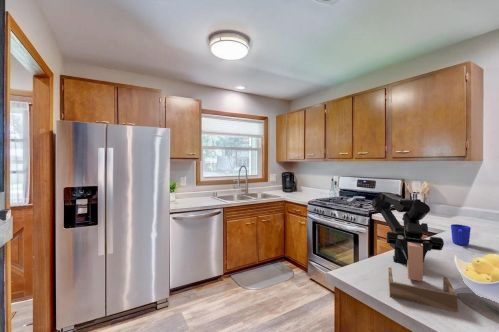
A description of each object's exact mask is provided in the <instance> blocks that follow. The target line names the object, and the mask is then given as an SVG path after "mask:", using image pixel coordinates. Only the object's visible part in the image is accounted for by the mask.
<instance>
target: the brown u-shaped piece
mask: <svg viewBox="0 0 499 332" xmlns="http://www.w3.org/2000/svg"><path fill="white" fill-rule="evenodd" d="M387 269H388V291H389V297H392V298H395V299H399V300H402V301H403V300H404V301H408V302H413V303H418V304H420V305H421V304H422V305H425V306H431V307H434V308H438V309H444V310H448V311H452V312H456V313H457V312H458V310H459V309H458V307H459V303H458V294H457V293H456V291H455V289H454V288H453V285H452V284H451V282H450V280H449V279H448V277H446V276H443V278H442V282H443V284H442V285H443V287H442V288H443V291H442V290H437V289H432V288H427V287H421V286H416V285H411V284H407V283H403V282H397V281H394V278H393V270H392V267H389V266H388V268H387Z"/></svg>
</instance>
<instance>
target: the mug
mask: <svg viewBox="0 0 499 332" xmlns="http://www.w3.org/2000/svg"><path fill="white" fill-rule="evenodd" d="M471 229H472V228H471V226H469V225H465V224H464V225H463V224H458V223H457V224H456V223H455V224H454V223H453V224H450V231H451V240H452V243H453V244H455V245H458V246H464V247H465V246H466V247H467V246H469V244H470V239H471V238H470V237H471Z"/></svg>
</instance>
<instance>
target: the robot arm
mask: <svg viewBox="0 0 499 332" xmlns="http://www.w3.org/2000/svg"><path fill="white" fill-rule="evenodd" d="M371 206H372V208H373V209H374V211H375V212H376V213H378V214H381V216H382V218H383V219H384V221H385V223H386V224H387V226H388V228H389V229H390V230H391V231H387V232H386V243H387V244H389V246H390V247H391V248H393V250H394V253H393V254H394V255H393V256H392V259H393V262H394V263H400V264H406V265H407V260H408V252H407V242H413V243H420V244H421V245H422V247H423V263H424V262H425V258H426V255H427V253H428V252H430V251H432V250H434V251H442V250H443V248H444V245H445V243H444V239H443V238H442V237H440V236H439V237H438V236H432V235H431V236H429V239H426V238H425V239H424V238H422V237H423V233H428V231H429V225H428V223H424V222H422V223H421V222H420V221H421V220H423V219H424V218H425V217H426V216H427V215H428V213H430V211H431V207H430V205H429V204H427V203H425V202H424V201H422V200H421V199H419V198H417V199H410V198H401V197H400V196H398V195H395V194H393V193H392V192H380V194H379V195H378V196H376V197H374V198H373V199H372V201H371ZM391 206H394V209H395V211H396V212H398V213H403V215H402V219H401V220H402V221H403V226H402V225H401V223H400V221H399V220H398V219H397V217H396V216H395V214H394V212H393V211H392V210H391ZM420 223H421V224H420Z"/></svg>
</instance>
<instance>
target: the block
mask: <svg viewBox="0 0 499 332" xmlns="http://www.w3.org/2000/svg"><path fill="white" fill-rule="evenodd" d="M422 246H423V245H422V244H420V243H413V242H407V252H408V260H407V264H406V276H407V278H408V279H409V280H413V281H419V282H423V281H424V279H423V276H424V273H423V272H424V268H423V267H424V262H423V247H422Z"/></svg>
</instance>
